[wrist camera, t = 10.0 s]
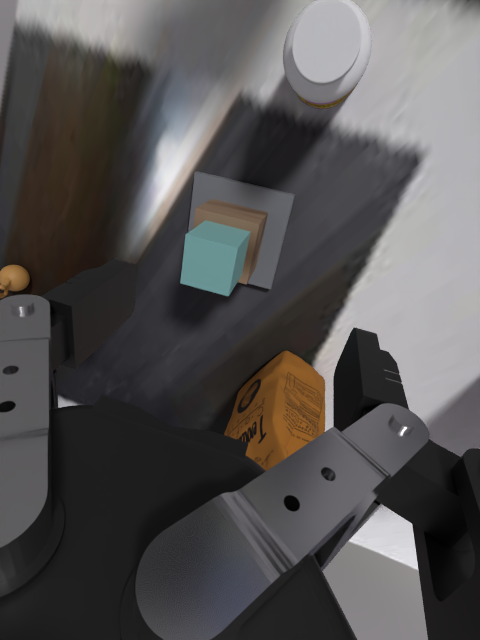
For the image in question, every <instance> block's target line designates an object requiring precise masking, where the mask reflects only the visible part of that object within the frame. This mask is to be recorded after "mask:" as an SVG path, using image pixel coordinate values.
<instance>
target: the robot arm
mask: <svg viewBox="0 0 480 640" xmlns="http://www.w3.org/2000/svg"><path fill="white" fill-rule="evenodd" d="M136 274H137V270H136V266H135V264H132V263H129V262H125V261H122V260H118V259H112V260H110V261H109V262H107V263H106V264H104V265H102V266H101V267H99V268H98V267H96V268H92V269H88V270H85V271H82V272H81V273H79V274H77V275H76V276H74V278H71V279H69V280H67V281H66V282H65V283H62V284H61V285H59V286H57V287H56V288H54V289H52V290H51V291H49V292H47V293H46V294H44V295H42V296H41V297H40V296H35V295H16V296H11V297H7V298H5V299H2V300H1V301H0V640H357V638H356V637H355V634H354V632H353V630H352V629H351V627H350V625H349V623H348V621H347V619H346V617H345V615H344V613H343V611H342V609H341V607H340V605H339V603H338V601H337V599H336V597H335V595H334V593H333V591H332V589H331V587H330V586H329V584H328V582H327V580H326V578H325V576H324V574H323V572H322V571H323V570H324V569H325V568H326V567H327V565H328V564H329V563H330V562H331V561H332V559H333V558H334V557H335V556H336V555H337V553H338V552H339V551H340V550H341V548H342V547H343V546H344V545H345V544H346V543H347V542H348V541H349V539H350V538H351V537H352V536H353V535H354V534H355V533H356V532H357V531H358V530H359V529H360V528H361V527H362V526H363V525H364V524H365V523H366V522H367V521H368V519H369V518H370V517H371V516H372V515H373V514H374V513H375V512H376V511H377V510H378V509H379V508H380V507H381V506H382V505H384V506H386V507H387V508H389V509H390V510H392V511H393V512H395V513H397V514H398V515H400V516H401V517H403V518H404V519H406V520H407V521H409V522H411V523H412V524H413V532H414V539H415V547H416V554H417V561H418V569H419V576H420V582H421V591H422V597H423V605H424V612H425V620H426V627H427V635H428V640H480V449H469V450H467V451H466V452H465V453H464V454H463V456H462V457H459V456H458V455H456V454H454V453H452V452H450V451H448V450H446V449H445V448H443V447H441V446H439V445H437V444H436V443H434V442H433V441H431V440H430V439H429V431H428V429H427V427H426V425H425V424H424V422H423V421H422V420H421V419H420V418H419V417H418V416H417V415H416V414H414V413H413V412H411V411H410V410H409V408H408V404H407V400H406V397H405V393H404V389H403V385H402V384H401V382H402V381H401V378H400V375H399V370H398V366H397V363H396V361H395V360H394V359H393V358H392V356H391V355H390V354H389V352H387V351H383V350H380V347H379V342H378V337H377V334H376V333H372V332H369V331H365V330H362V329H358V328H353V330H352V331H351V333H350V336H349V338H348V340H347V343H346V345H345V347H344V349H343V352H342V354H341V356H340V359H339V361H338V363H337V366H336V369H335V373H334V427H333V428H330V429H329V430H327V431H326V432H324V433H323V434H321V435H320V436H318V437H317V438H315V439H314V440H312V441H311V442H309V443H308V444H306V445H305V446H303V447H302V448H300V449H299V450H297V451H296V452H294V453H293V454H291V455H290V456H288V457H287V458H285V459H284V460H282V461H281V462H279V463H278V464H276V465H275V466H273V467H272V468H270V469H269V470H267V471H266V470H265V469H264V468H262V467H261V466H260V465H259V464H258V463H257V462H255V461H254V460H253V459H251V458H250V457H248V456H246V451H247V447H248V444H249V443H247V442H244V441H241V440H238V439H235V438H231V437H228V436H225V435H222V434H219V433H216V432H213V431H207V430H197V429H188V428H179V427H171V426H168V425H166V424H165V423H163V422H162V421H160V420H158V419H157V418H155V417H153V416H152V415H150V414H148V413H147V412H145V411H143V410H142V409H140V408H138V407H136V406H133V405H130V404H127V403H124V402H121V401H118V400H115V399H112V398H109V397H106V396H103V395H102V396H101V398H100V399H99V400H98V401H97V402H96V404H95V405H94V406H91V405H77V406H68V407H62V408H58V391H57V370H56V368H58V367H59V366H60V365H61V364H62V365H65V366H68V367H71V368H74V369H76V368H77V367H78V366H79V365H80V364H81V363H83V362H84V361H85V360H86V359H87V358H88V357H89V356H90V355H91V354H92V353H93V352H94V351H95V350H96V349H97V348H98V347H99V346H100V345H101V344H102V343H103V342H104V341H105V340H106V339H107V338H108V337H110V336H111V335H112V334H113V333H114V332H115V331H116V330H117V329H118V328H119V327H120V326H121V325H122V324H123V323H124V322H125V321H126V320H127V319H128V318H129V317H130V316H131V314H132V312H133V310H134V306H135V296H136Z"/></svg>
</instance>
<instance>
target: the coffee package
mask: <svg viewBox="0 0 480 640" xmlns="http://www.w3.org/2000/svg"><path fill="white" fill-rule="evenodd" d="M324 431H325V380H324V379H323V377H322V376H320V375H319V374H318V373H317V371H316V370H315V369H314V368H313V367H311V366H310V365H309V364H307V363H306V362H304V361H303V360H302V359H301V358H299V357H298V356H297V355H294V354H292V353H291V352H289V351H283V352H281V353H280V354H279V355H277V356H276V357H275V358H273V359H272V360H271V361H270V362H269V363H268V364H266V365H265V366H264V367H263V368H262V369H261V370H260V371H259V372H258V373H257V374H256V375H254V376H253V377H252V378H251V379H250V380H249V381H248V382H247V383H246V384H245V385H244V386H243V387H242V388H241V389H240V391H239V392H238V395H237V399H236V402H235V406H234V409H233V413H232V416H231V418H230V420H229V423H228V425H227V428H226V430H225V433H224V435H225V436H228V437H231V438H235V439H238V440H241V441H244V442H247V443H249V444H248V447H247V451H246V456H248V457H250V458H251V459H253V460H254V461H255V462H257V463H258V464H259V465H260V466H261V467H262V468H264V469H265V470H266V471H267V470H269V469H270V468H272V467H273V466H275V465H276V464H278V463H279V462H281V461H282V460H284V459H285V458H287V457H288V456H290V455H291V454H293V453H294V452H296V451H297V450H299V449H300V448H302V447H303V446H305V445H306V444H308V443H309V442H311V441H312V440H314V439H315V438H317V437H318V436H320V435H321V434H323V433H324Z"/></svg>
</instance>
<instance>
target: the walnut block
mask: <svg viewBox="0 0 480 640" xmlns="http://www.w3.org/2000/svg"><path fill="white" fill-rule="evenodd" d="M267 216H268V212H264V211H260V210H256V209H252V208H248V207H244V206H240V205H236V204H232V203H227V202H223V201H219V200H215V199H211V200H209V201H207V202H205V203H204V204H202V205H200V206H198V207H197V208H196V209H195V217H194V226H193V229H194V228H195V227H197V226H198V225H200V224H201V223H202V222H204V221H205V220H206V221H210V222H214V223H218V224H222V225H226V226H230V227H234V228H238V229H242V230H246V231H250V237H249V242H248V247H247V252H246V257H245V262H244V267H243V271H242V275H241V277H240V279H239V280H238V282H239V283H242V284H246V285H247V283H248V281H249V279H250V277H251V276H252V274H253V272H254V270H255V268H256V265H257V261H258V256H259V252H260V247H261V243H262V238H263V234H264V229H265V225H266V220H267Z"/></svg>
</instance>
